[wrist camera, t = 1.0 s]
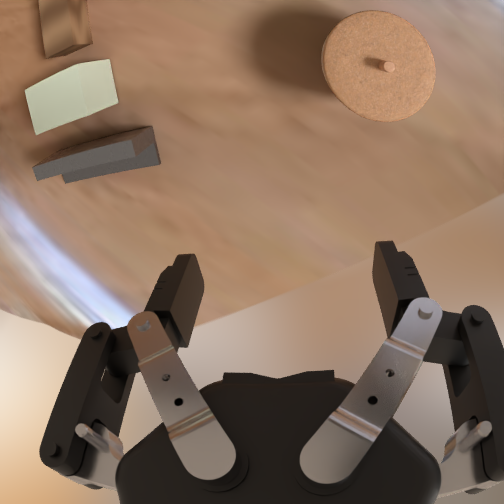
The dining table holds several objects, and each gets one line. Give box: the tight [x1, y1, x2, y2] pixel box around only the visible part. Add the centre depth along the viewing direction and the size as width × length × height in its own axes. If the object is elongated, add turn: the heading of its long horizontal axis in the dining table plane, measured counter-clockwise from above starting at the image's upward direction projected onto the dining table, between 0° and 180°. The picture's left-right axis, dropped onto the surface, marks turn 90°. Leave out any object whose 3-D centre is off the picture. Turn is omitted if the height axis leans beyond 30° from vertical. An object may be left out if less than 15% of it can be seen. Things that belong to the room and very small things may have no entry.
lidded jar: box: [321, 10, 435, 122], centre depth 24 cm, size 11×11×9 cm
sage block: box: [25, 59, 118, 135], centre depth 29 cm, size 6×8×7 cm
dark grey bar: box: [32, 126, 161, 184], centre depth 35 cm, size 5×16×6 cm, turn 97°
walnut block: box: [39, 0, 93, 59], centre depth 23 cm, size 12×4×4 cm, turn 7°
